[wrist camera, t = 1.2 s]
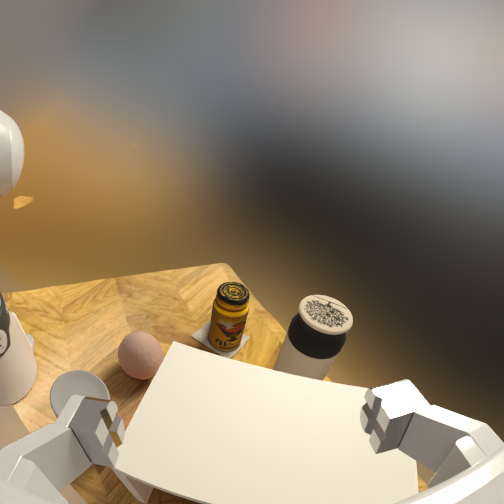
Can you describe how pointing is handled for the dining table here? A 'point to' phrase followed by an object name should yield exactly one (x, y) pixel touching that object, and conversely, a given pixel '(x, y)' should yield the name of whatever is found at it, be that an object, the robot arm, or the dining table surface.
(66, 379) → the canned food
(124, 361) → the egg
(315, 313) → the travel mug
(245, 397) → the white step stool
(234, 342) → the condiment
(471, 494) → the robot arm
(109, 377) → the dining table surface
